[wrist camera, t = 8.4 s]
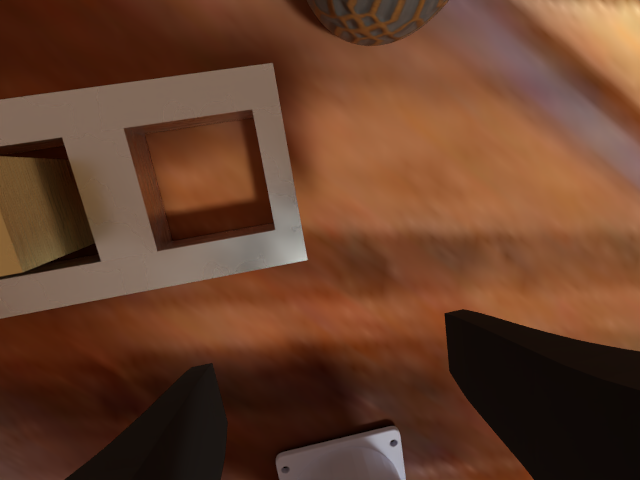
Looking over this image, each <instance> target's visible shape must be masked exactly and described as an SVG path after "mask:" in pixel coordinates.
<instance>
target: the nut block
mask: <svg viewBox="0 0 640 480" xmlns="http://www.w3.org/2000/svg"><path fill="white" fill-rule="evenodd" d="M94 243H95V240H94V237H93V234H92V231H91V228H90V225H89V221H88V218H87V215H86V212H85V209H84V205H83V202H82V199H81V196H80V193H79V190H78V186H77V183H76V180H75V177H74V174H73V171H72V167H71V164H70V161H69V160H64V159H44V158H24V157H4V156H0V276H5V275H11V274H16V273H22V272H25V271H27V270H30V269H32V268H35V267H37V266H40V265H42V264H45V263H47V262H50V261H52V260H55V259H57V258H59V257H62V256H64V255H67V254H69V253H72V252H74V251H77V250H79V249H82V248H84V247H87V246H89V245H92V244H94Z"/></svg>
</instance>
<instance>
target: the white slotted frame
mask: <svg viewBox="0 0 640 480" xmlns="http://www.w3.org/2000/svg"><path fill="white" fill-rule="evenodd" d="M248 118H254V121H255V127H256V132H257V137H258V142H259V147H260V152H261V158H262V163H263V168H264V173H265V178H266V184H267V189H268V194H269V199H270V204H271V209H272V215H273V220H274V223H270V224H264V225H259V226H253V227H248V228H242V229H236V230H231V231H225V232H220V233H214V234H209V235H203V236H197V237H192V238H186V239H181V240H175V241H172V237H171V233H170V229H169V226H168V222H167V218H166V214H165V210H164V207H163V203H162V199H161V195H160V191H159V188H158V184H157V180H156V176H155V172H154V168H153V165H152V161H151V157H150V153H149V149H148V146H147V142H146V138H145V134H148V133H154V132H161V131H168V130H175V129H181V128H188V127H195V126H201V125H208V124H215V123H221V122H228V121H235V120H242V119H248ZM61 146H65V148H66V152H67V155H68V158H69V161H70V164H71V167H72V171H73V174H74V177H75V180H76V183H77V186H78V190H79V193H80V196H81V199H82V202H83V205H84V209H85V212H86V215H87V218H88V221H89V225H90V228H91V231H92V234H93V237H94V240H95V244H96V247H97V250H98V253H99V254H97V255H91V256H86V257H80V258H74V259H69V260H63V261H58V262H52V263H47V264H42V265H40V266H37V267H35V268H32V269H30V270H27V271H25V272H22V273H16V274H11V275H5V276H0V319H1V318H6V317H12V316H17V315H22V314H27V313H33V312H38V311H43V310H48V309H54V308H59V307H64V306H69V305H74V304H80V303H85V302H90V301H95V300H101V299H106V298H111V297H116V296H122V295H127V294H132V293H137V292H143V291H148V290H153V289H158V288H163V287H169V286H174V285H179V284H184V283H190V282H195V281H200V280H205V279H211V278H216V277H221V276H226V275H232V274H237V273H242V272H247V271H253V270H258V269H263V268H268V267H273V266H279V265H284V264H289V263H294V262H300V261H305V260H307V255H306V250H305V244H304V238H303V232H302V227H301V221H300V215H299V210H298V204H297V198H296V192H295V187H294V181H293V175H292V170H291V164H290V158H289V153H288V147H287V141H286V135H285V130H284V124H283V118H282V113H281V107H280V101H279V95H278V90H277V84H276V78H275V73H274V67H273V63H268V64H260V65H253V66H246V67H238V68H231V69H223V70H216V71H208V72H201V73H194V74H186V75H179V76H171V77H164V78H157V79H149V80H142V81H134V82H127V83H120V84H112V85H105V86H97V87H90V88H82V89H75V90H68V91H60V92H53V93H45V94H38V95H31V96H23V97H16V98H8V99H1V100H0V155H7V154H14V153H20V152H27V151H34V150H40V149H47V148H54V147H61Z"/></svg>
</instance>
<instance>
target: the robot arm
mask: <svg viewBox="0 0 640 480" xmlns="http://www.w3.org/2000/svg"><path fill="white" fill-rule="evenodd" d="M445 325H446V336H447V348H448V360H449V371H450V373H451V374H452V376H453V378H454V379H455V381H456V382H457V384H458V386H459V387H460V389H461V390H462V392H463V393H464V395H465V396H466V398H467V399H468V401H469V402H470V403H471V404H472V405H473V407H474V408H475V409H476V410H477V412H478V413H479V414H480V415H481V416H482V418H483V419H484V420H485V421H486V422H487V423H488V425H489V426H490V427H491V428H492V429H493V431H494V432H495V433H496V434H497V435H498V436H499V438H500V439H501V440H502V441H503V442H504V444H505V445H506V446H507V447H508V448H509V449H510V451H511V452H512V453H513V454H514V455H515V457H516V458H517V459H518V460H519V461H520V462H521V464H522V465H523V466H524V467H525V469H526V470H527V471H528V472H529V474H530V475H531V476H532V477H533V479H534V480H640V351H633V350H627V349H621V348H616V347H610V346H605V345H600V344H595V343H589V342H585V341H580V340H576V339H572V338H568V337H564V336H560V335H556V334H552V333H548V332H544V331H540V330H537V329H533V328H530V327H526V326H523V325H519V324H516V323H512V322H509V321H506V320H502V319H499V318H496V317H492V316H489V315H485V314H482V313H478V312H474V311H469V310H464V309H462V310H458V311H453V312H448V313H445ZM227 424H228V422H227V418H226V414H225V410H224V406H223V403H222V399H221V395H220V391H219V387H218V383H217V379H216V375H215V372H214V368H213V364H212V363H210V364H205V365H201V366H196V367H191V368H190V369H189V370H188V371H186V372H185V373H184V374H183V375H182V376H181V377H180V378H179V379H178V380H177V381H176V382H175V383H174V384H173V385H172V386H171V387H170V388H169V389H168V390H167V391H166V392H165V393H164V394H163V395H162V396H161V397H159V398H158V399H157V400H156V401H155V402H154V403H153V404H152V405H151V406H150V407H149V408H148V409H147V410H146V411H145V412H144V413H143V414H142V415H141V416H140V417H139V418H137V419H136V420H135V421H134V422H133V423H132V424H131V425H130V426H129V427H128V428H126V429H125V430H124V431H123V432H122V433H121V434H120V435H119V436H118V437H116V438H115V439H114V440H113V441H112V442H111V443H110V444H109V445H107V446H106V447H105V448H104V449H103V450H101V451H100V452H99V453H98V454H97V455H95V456H94V457H93V458H92V459H90V460H89V461H88V462H87V463H85V464H84V465H83V466H81V467H80V468H79V469H78V470H76V471H75V472H74V473H72V474H71V475H70V476H69V477H67V478H66V479H65V480H220V479H221V474H222V469H223V464H224V459H225V450H226V438H227ZM392 440H394V441H393V442H391V441H392ZM285 466H287V468H283V467H285ZM276 467H277V472H278V476H279V480H406V477H405V469H404V461H403V453H402V445H401V438H400V433H399V430H398V428H397V427H395V426H388V427H384V428H380V429H376V430H372V431H368V432H363V433H359V434H355V435H351V436H347V437H343V438H339V439H335V440H330V441H326V442H322V443H318V444H314V445H310V446H306V447H302V448H298V449H293V450H289V451H285V452H282V453H279V454H278V455H277V457H276Z"/></svg>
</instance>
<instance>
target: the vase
mask: <svg viewBox="0 0 640 480" xmlns="http://www.w3.org/2000/svg"><path fill="white" fill-rule="evenodd" d="M448 1H449V0H307V2H308V4H309V6H310V8H311V9H312V11H313V13H314V14H315V16H316V17H317V18H318V20H319V21H320V22H321V23H322V24H323V25H324V26H325V27H326V28H327V29H328V30H329V31H331V32H332V33H333V34H335V35H336V36H338V37H339V38H341V39H343V40H345V41H348V42H350V43H354V44H358V45H364V46H377V45H384V44H389V43H392V42H395V41H398V40H401V39H403V38H405V37H407V36H409V35H411V34H412V33H414V32H415V31H417V30H418V29H420V28H421V27H422V26H424V25H425V24H426V23H427V22H428V21H430V20H431V19H432V18H433V17H434V16H435V15H436V14H437V13H438V12H439V11H440V10H441V9H442V8H443V7H444V6H445V4H446V3H447V2H448Z"/></svg>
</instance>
